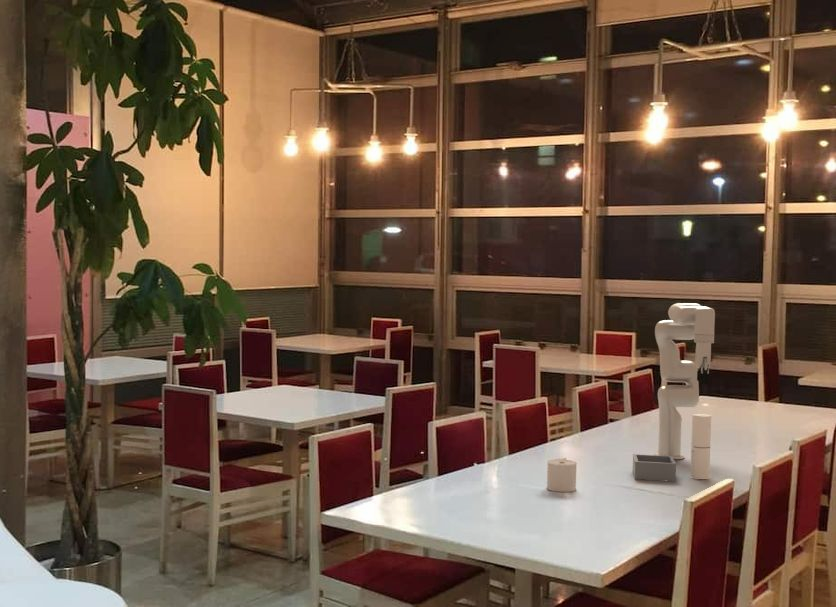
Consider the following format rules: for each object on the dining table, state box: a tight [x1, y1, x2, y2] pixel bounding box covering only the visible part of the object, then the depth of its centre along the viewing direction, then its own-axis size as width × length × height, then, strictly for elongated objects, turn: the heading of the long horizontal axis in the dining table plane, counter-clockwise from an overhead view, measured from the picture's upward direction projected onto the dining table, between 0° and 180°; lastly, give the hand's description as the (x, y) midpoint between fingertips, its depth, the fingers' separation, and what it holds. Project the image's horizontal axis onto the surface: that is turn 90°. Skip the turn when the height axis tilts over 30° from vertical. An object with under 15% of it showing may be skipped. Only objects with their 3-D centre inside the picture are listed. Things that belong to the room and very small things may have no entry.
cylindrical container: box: [689, 413, 712, 480], centre depth 375 cm, size 7×7×25 cm
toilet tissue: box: [546, 457, 578, 493], centre depth 353 cm, size 11×12×10 cm
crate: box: [632, 453, 677, 482], centre depth 377 cm, size 15×15×7 cm
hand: (702, 382), depth 374 cm, fingers open, 9 cm apart
